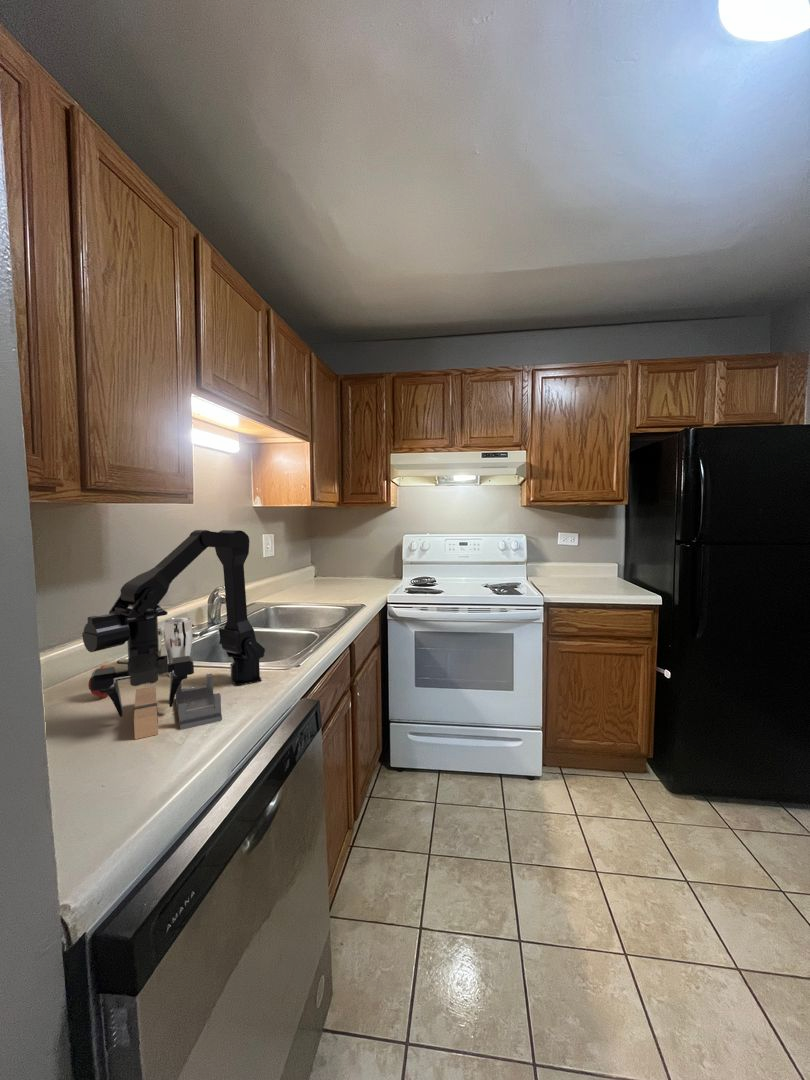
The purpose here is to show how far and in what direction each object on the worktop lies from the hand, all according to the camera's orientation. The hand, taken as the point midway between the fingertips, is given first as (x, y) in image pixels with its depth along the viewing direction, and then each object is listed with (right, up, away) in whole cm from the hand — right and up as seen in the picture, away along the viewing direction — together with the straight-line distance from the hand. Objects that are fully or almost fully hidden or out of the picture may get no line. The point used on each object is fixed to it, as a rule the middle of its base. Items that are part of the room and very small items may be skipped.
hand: (146, 711), depth 98 cm
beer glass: (-7, 0, +28) cm, 29 cm away
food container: (-20, 0, +33) cm, 39 cm away
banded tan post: (0, -2, 0) cm, 2 cm away
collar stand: (+9, -1, +5) cm, 10 cm away
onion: (-17, -2, +12) cm, 21 cm away
